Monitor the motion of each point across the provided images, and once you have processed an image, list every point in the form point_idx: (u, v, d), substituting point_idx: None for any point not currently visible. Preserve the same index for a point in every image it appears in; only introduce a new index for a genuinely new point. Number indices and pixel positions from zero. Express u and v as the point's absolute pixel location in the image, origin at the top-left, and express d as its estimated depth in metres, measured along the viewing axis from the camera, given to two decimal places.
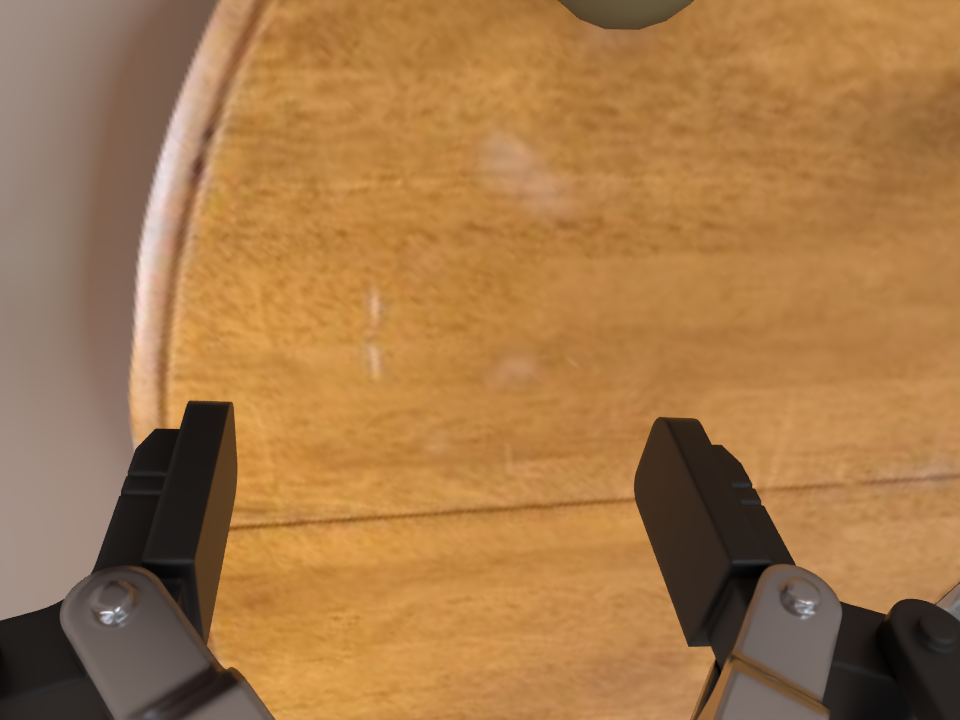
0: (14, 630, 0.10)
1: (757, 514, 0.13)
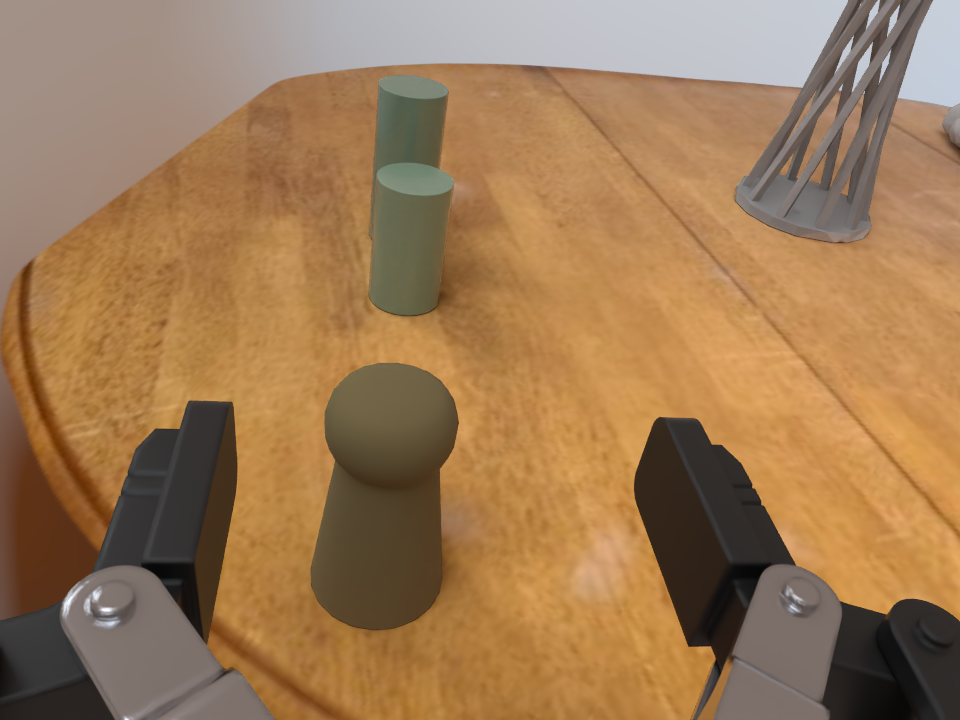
0: (15, 629, 0.10)
1: (757, 514, 0.13)
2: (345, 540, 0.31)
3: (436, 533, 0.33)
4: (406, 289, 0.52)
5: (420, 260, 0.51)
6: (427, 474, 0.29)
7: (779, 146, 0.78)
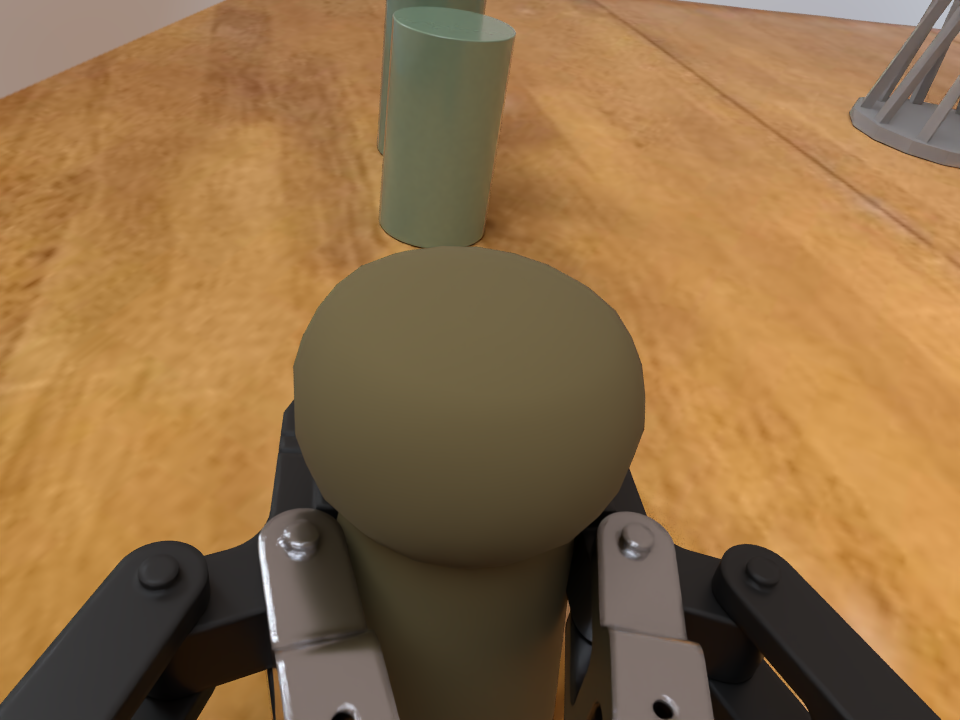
0: (213, 565, 0.11)
1: None
2: None
3: (559, 655, 0.14)
4: (439, 205, 0.33)
5: (462, 156, 0.32)
6: (575, 533, 0.11)
7: (910, 54, 0.60)
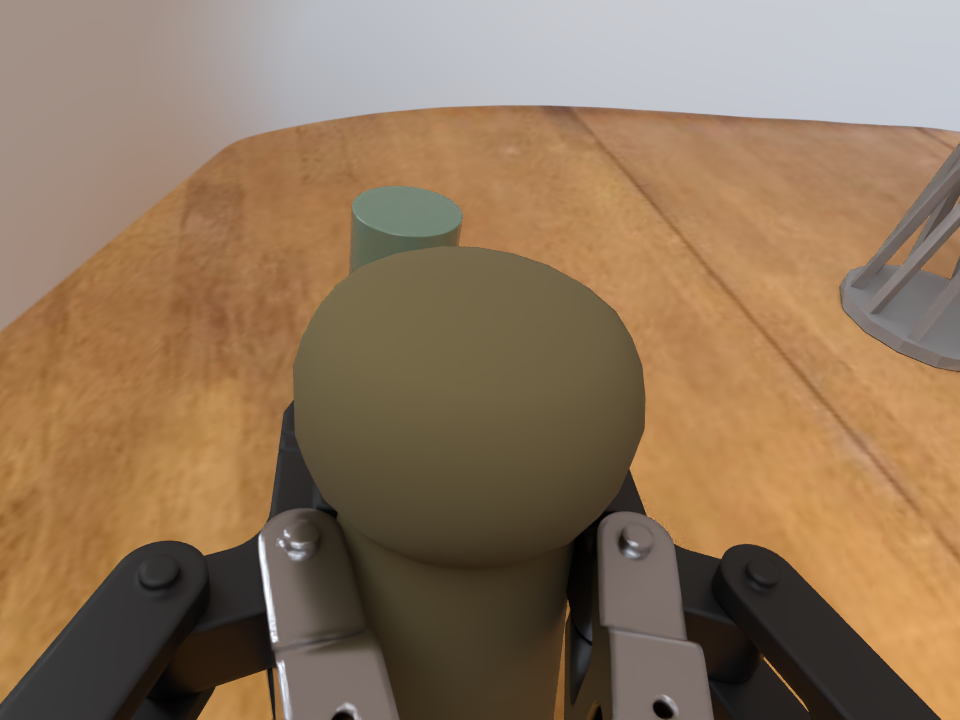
0: (213, 564, 0.11)
1: None
2: None
3: (559, 655, 0.14)
4: None
5: None
6: (575, 534, 0.11)
7: None
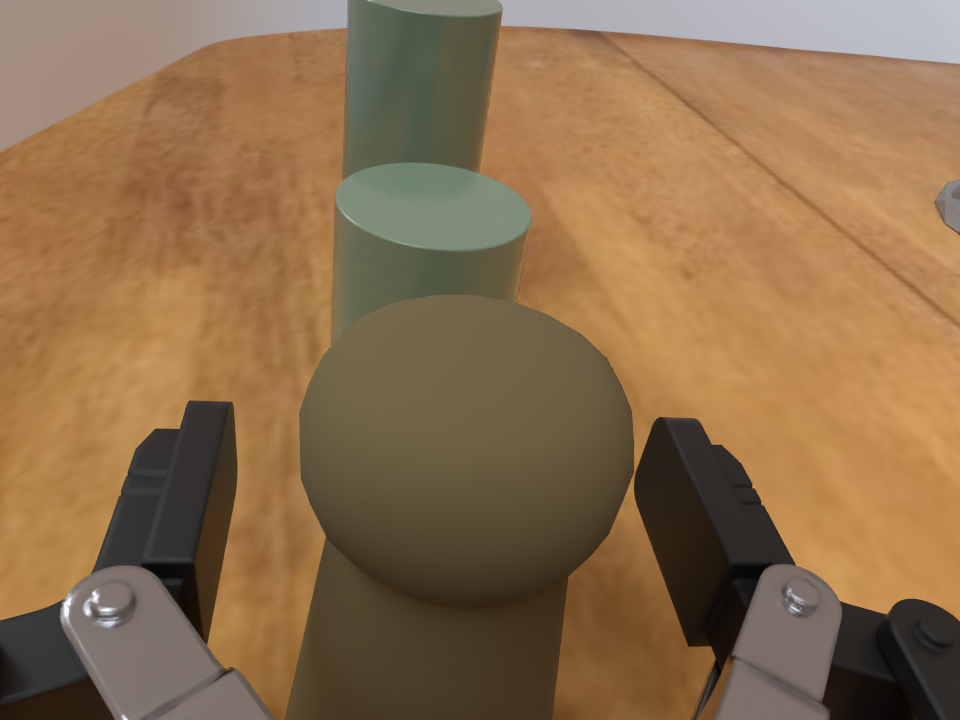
0: (15, 629, 0.10)
1: (757, 514, 0.13)
2: (353, 717, 0.13)
3: (554, 681, 0.15)
4: None
5: None
6: (567, 574, 0.11)
7: None
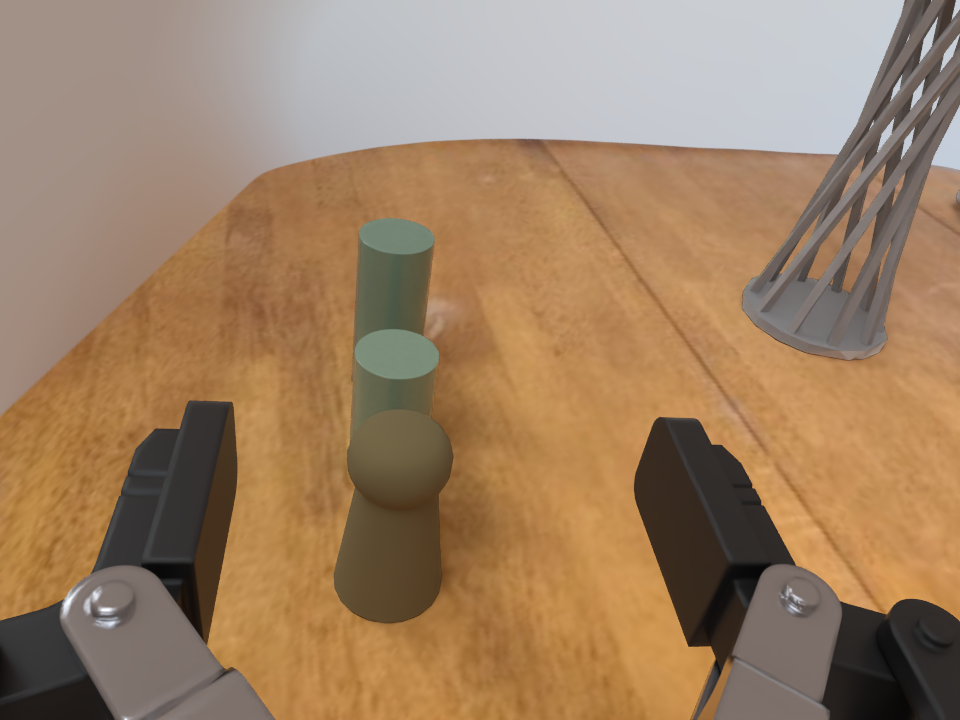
0: (15, 629, 0.10)
1: (757, 514, 0.13)
2: (363, 551, 0.39)
3: (436, 544, 0.41)
4: None
5: None
6: (428, 499, 0.37)
7: None
